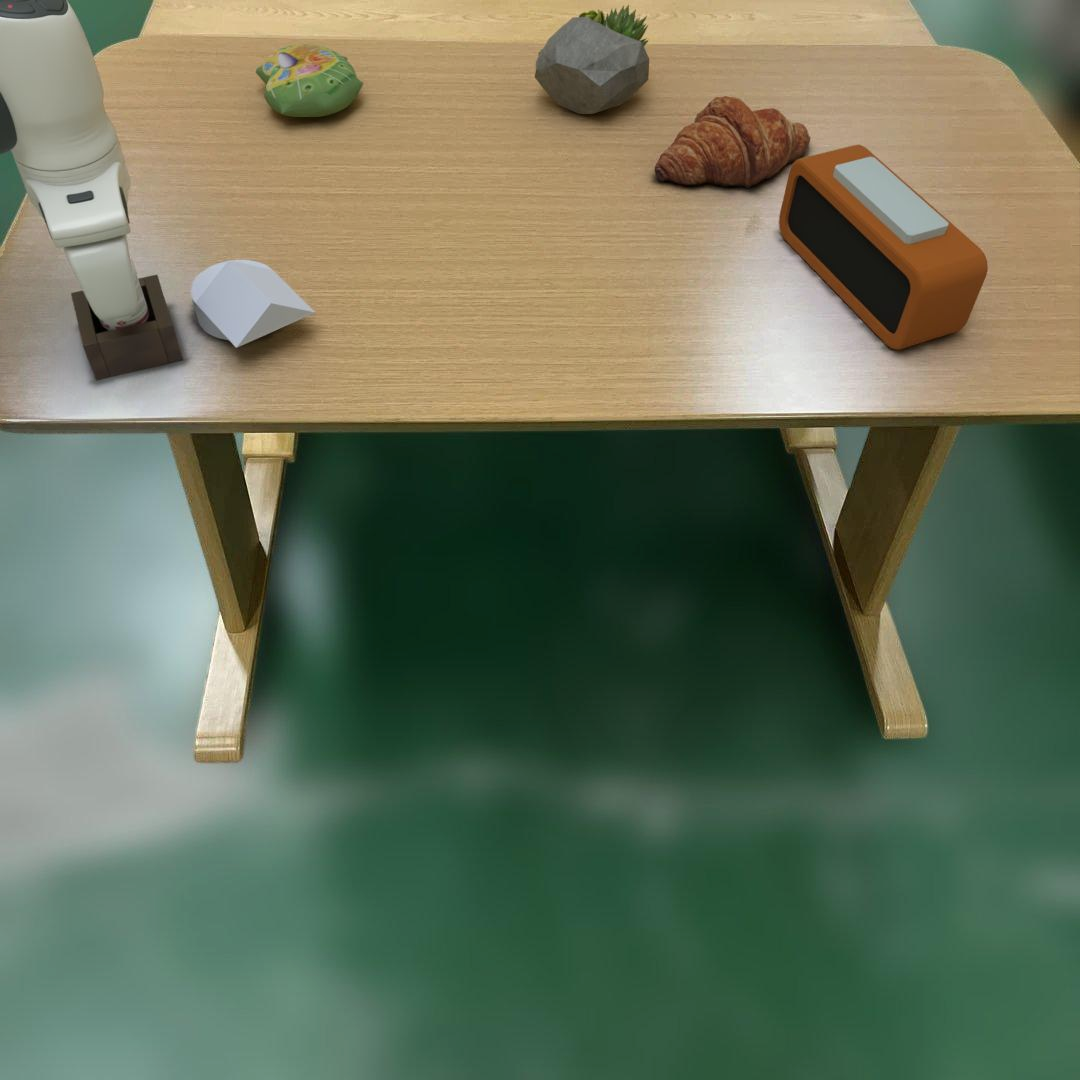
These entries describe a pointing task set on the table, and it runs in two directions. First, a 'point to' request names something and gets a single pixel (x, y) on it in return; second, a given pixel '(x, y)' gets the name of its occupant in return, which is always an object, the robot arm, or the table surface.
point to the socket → (128, 336)
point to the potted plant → (594, 61)
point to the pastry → (732, 146)
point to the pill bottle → (136, 318)
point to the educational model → (308, 81)
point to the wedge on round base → (244, 301)
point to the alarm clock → (881, 246)
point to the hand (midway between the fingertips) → (117, 297)
